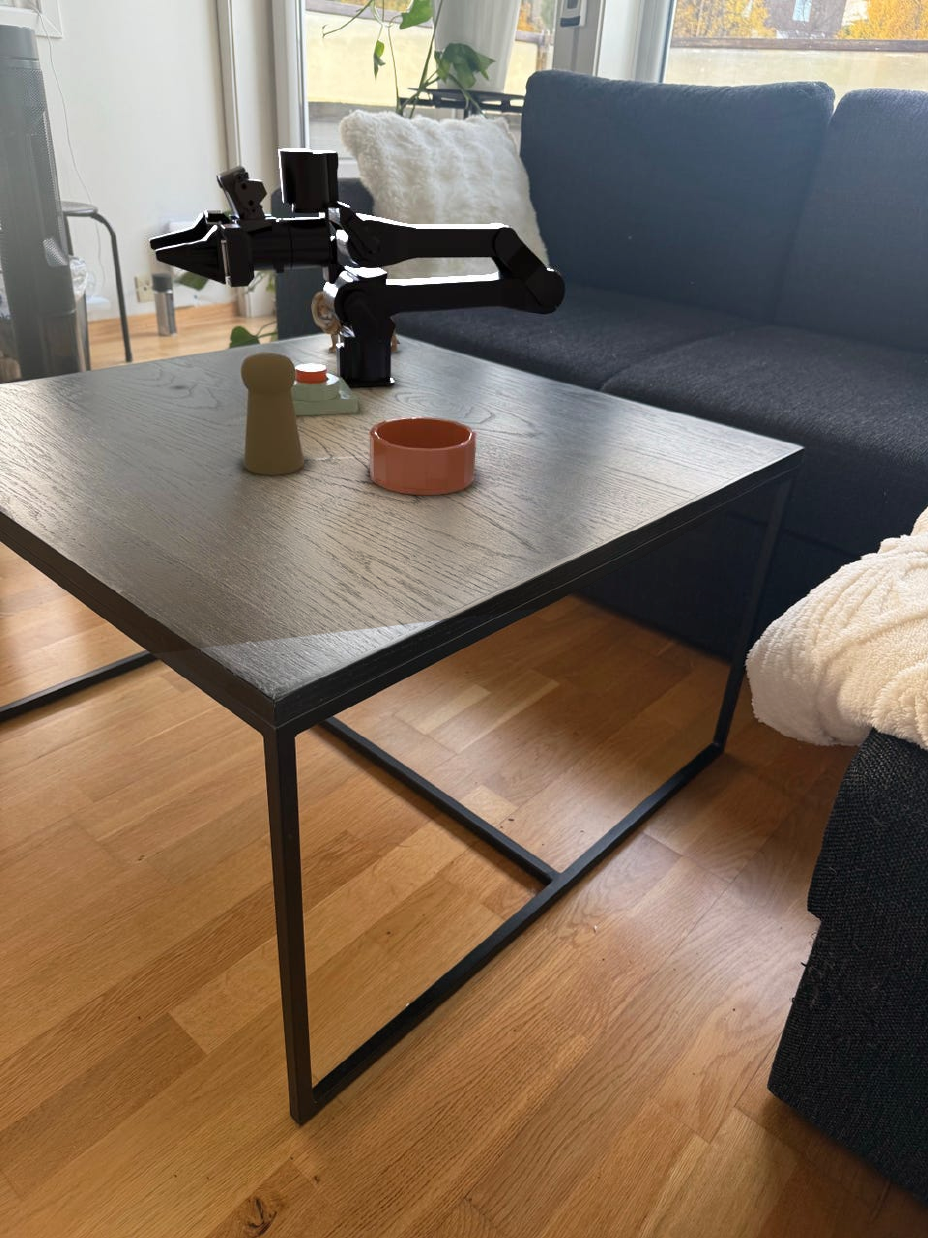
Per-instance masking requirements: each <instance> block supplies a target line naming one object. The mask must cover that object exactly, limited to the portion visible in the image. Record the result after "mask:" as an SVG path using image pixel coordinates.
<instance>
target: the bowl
mask: <svg viewBox="0 0 928 1238" xmlns="http://www.w3.org/2000/svg"><path fill="white" fill-rule="evenodd" d="M368 437H369V438H368V440H369V441H368V446H369V447H368V448H369V449H368V451H369V455H368V456H369V458H368V459H369V471H370V473H369V474H370V479H371V481H372V482H373V483H375V485H377V486H379V487H381V488H383V489H386V490H388V491H391V492H395V493H400V494H405V495H413V496H440V495H446V494H447V495H448V494H452V493H456V492H459V491H462V490H464V489H466V488H468V487H469V486H470V485H471V484H473V481H474V478H475V477H474V475H475V469H476V452H477V450H476V449H477V433H476V431H475V430H474V429H473V428H471V427H470V426H468V425H466V424H463V423H461V422H458V421H455V420H451V419H446V418H441V417H428V416H407V417H397V418H392V419H387V420H383V421H381V422H378V423H376V424H374V425H372V427H371V429H370V430H369V433H368Z"/></svg>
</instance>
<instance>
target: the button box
mask: <svg viewBox="0 0 928 1238" xmlns="http://www.w3.org/2000/svg"><path fill="white" fill-rule="evenodd" d="M326 378H327V382H323V383H316V384H307V383H300V382H297V381H296V378H295V383H294V384H293V386H292V388H291V394H292V400H293V405H294V411H295V416H313V415H317V416H318V415H335V414H336V415H337V414H356V413H357V414H358V413H359V400H358V398H357V396H356V395H355V393H354V392H353V390H351V387H348V385H347V384H346V383H345V381H344V380H343V378H342V377H339V376H338V375H334V374H331V373H328V372H326Z"/></svg>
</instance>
